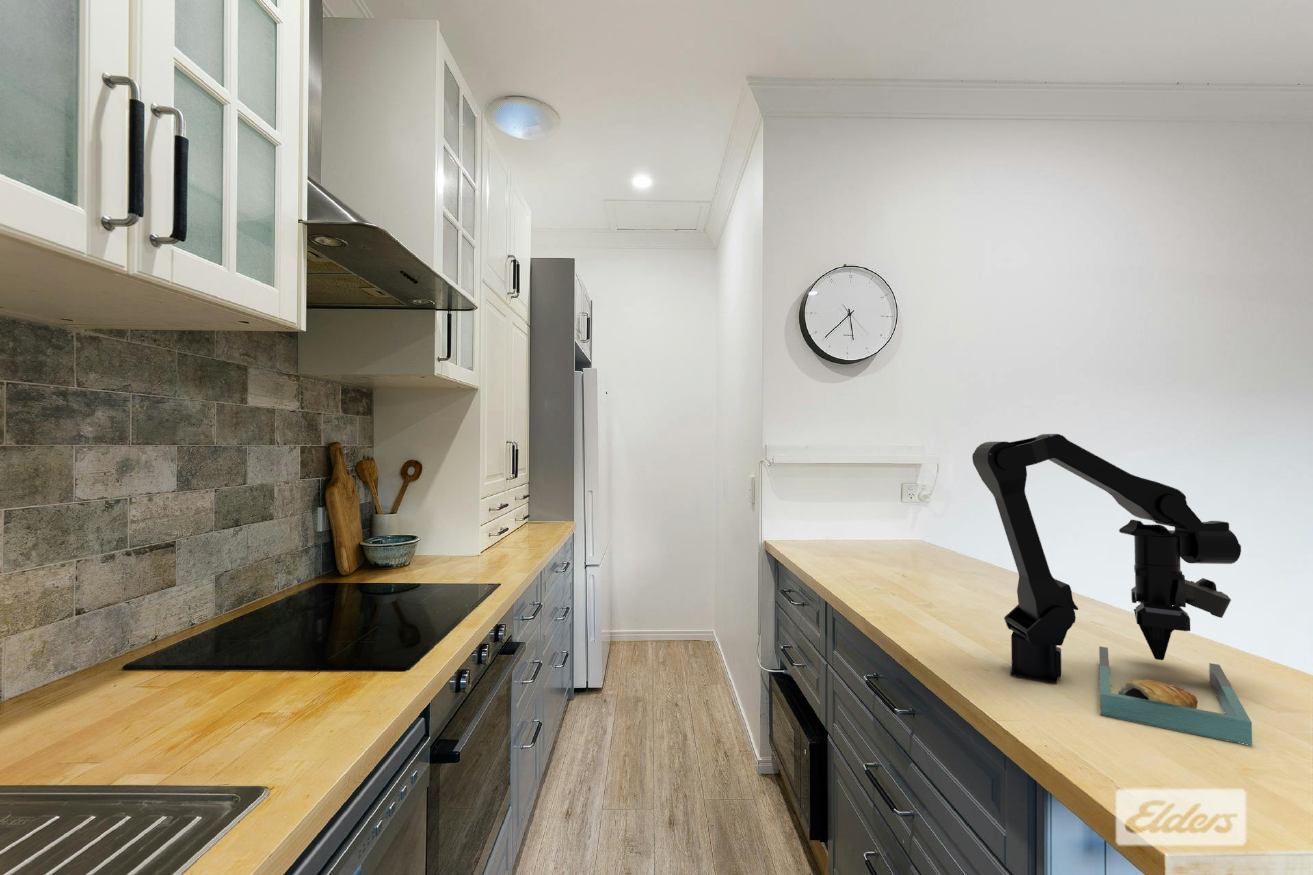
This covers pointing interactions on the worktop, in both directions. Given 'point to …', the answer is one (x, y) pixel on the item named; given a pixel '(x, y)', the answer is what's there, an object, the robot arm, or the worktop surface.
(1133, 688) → the pastry
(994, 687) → the worktop surface
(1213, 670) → the rail pocket
